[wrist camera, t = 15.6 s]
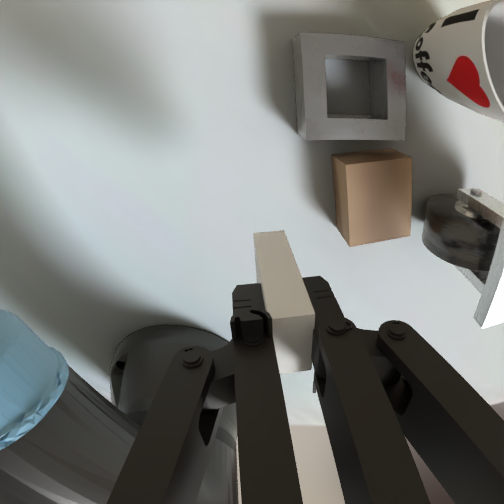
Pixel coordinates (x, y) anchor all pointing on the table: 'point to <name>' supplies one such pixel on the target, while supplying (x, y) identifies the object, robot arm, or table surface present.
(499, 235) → the caster wheel
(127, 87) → the table surface
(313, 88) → the grey square socket base
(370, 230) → the block
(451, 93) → the cup
